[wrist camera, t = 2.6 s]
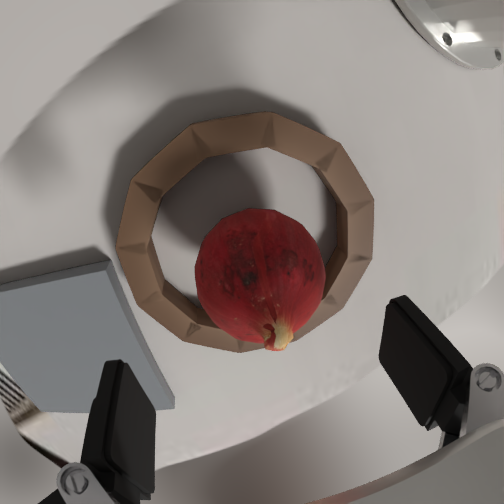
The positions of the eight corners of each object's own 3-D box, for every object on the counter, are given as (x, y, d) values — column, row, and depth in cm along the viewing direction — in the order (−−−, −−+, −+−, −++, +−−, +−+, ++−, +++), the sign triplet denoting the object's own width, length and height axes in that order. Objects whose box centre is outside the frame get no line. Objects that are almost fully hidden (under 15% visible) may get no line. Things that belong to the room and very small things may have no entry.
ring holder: (355, 104, 14) (370, 105, 13) (357, 308, 21) (366, 322, 19) (97, 147, 14) (87, 152, 12) (166, 348, 20) (164, 364, 18)
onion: (178, 216, 16) (160, 309, 9) (279, 172, 16) (341, 234, 9) (222, 298, 19) (236, 406, 12) (310, 261, 18) (367, 355, 11)
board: (111, 259, 16) (105, 270, 15) (174, 397, 23) (174, 408, 21) (-31, 292, 16) (-39, 300, 15) (44, 402, 22) (41, 411, 21)
